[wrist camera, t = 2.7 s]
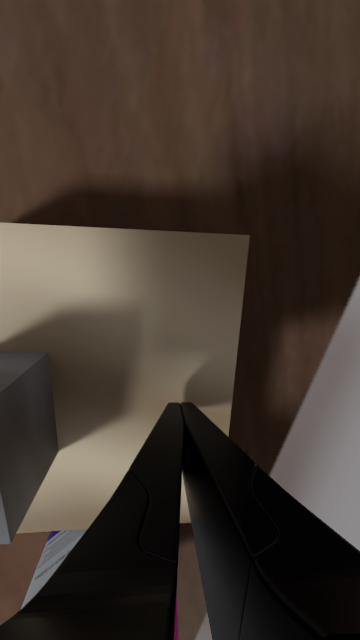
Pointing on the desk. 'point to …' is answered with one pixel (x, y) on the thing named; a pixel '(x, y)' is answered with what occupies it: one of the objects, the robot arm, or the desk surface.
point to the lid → (105, 357)
